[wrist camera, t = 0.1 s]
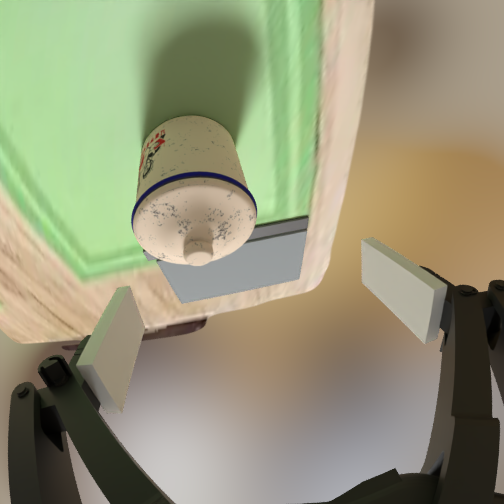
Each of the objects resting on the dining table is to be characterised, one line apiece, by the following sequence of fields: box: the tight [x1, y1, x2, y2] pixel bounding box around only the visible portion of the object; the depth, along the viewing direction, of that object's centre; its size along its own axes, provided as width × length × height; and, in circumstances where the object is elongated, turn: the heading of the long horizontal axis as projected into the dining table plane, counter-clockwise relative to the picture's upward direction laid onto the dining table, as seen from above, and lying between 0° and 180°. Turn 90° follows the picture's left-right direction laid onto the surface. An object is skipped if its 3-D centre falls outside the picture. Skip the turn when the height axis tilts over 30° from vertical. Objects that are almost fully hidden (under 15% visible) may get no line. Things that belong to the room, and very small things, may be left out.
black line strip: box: [143, 217, 309, 261], centre depth 37 cm, size 2×21×1 cm, turn 93°
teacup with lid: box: [131, 116, 257, 266], centre depth 23 cm, size 12×9×12 cm
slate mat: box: [157, 229, 307, 304], centre depth 43 cm, size 13×20×1 cm, turn 93°
